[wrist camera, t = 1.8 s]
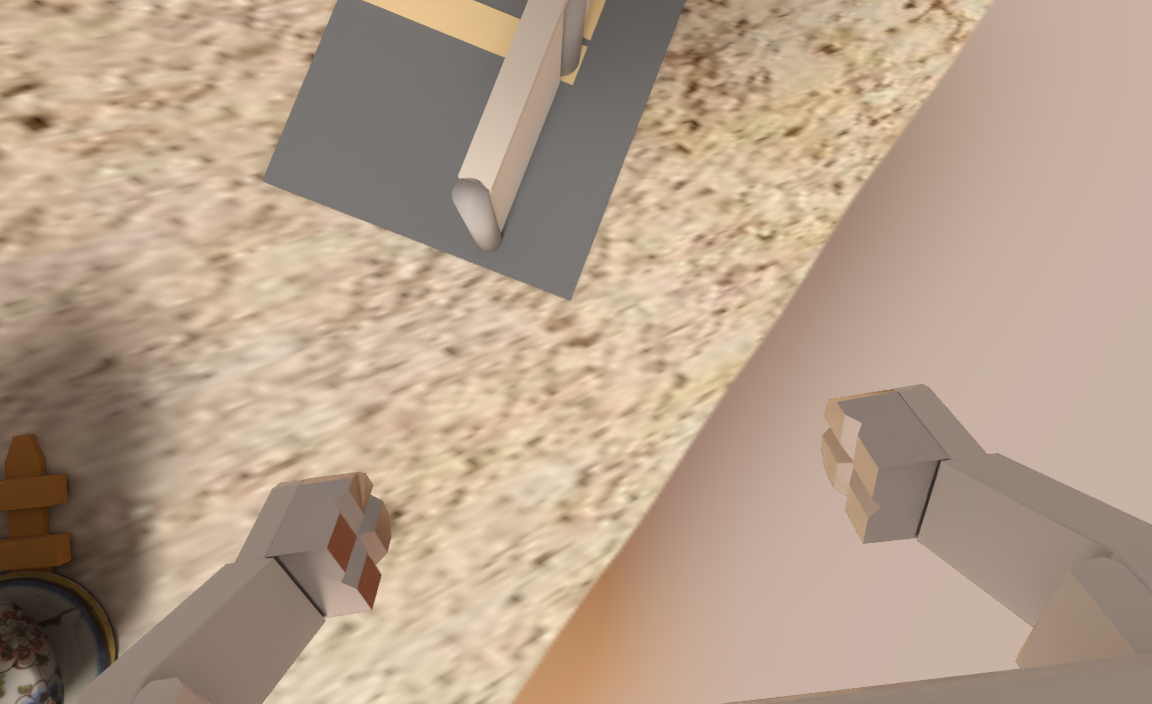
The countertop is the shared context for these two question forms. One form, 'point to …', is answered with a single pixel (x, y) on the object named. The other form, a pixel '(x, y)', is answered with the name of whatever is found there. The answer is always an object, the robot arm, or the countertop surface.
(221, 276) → the countertop surface
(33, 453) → the decorative fence
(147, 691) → the robot arm
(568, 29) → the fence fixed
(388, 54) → the mat
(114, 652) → the apothecary jar
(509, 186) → the beige rectangular panel
